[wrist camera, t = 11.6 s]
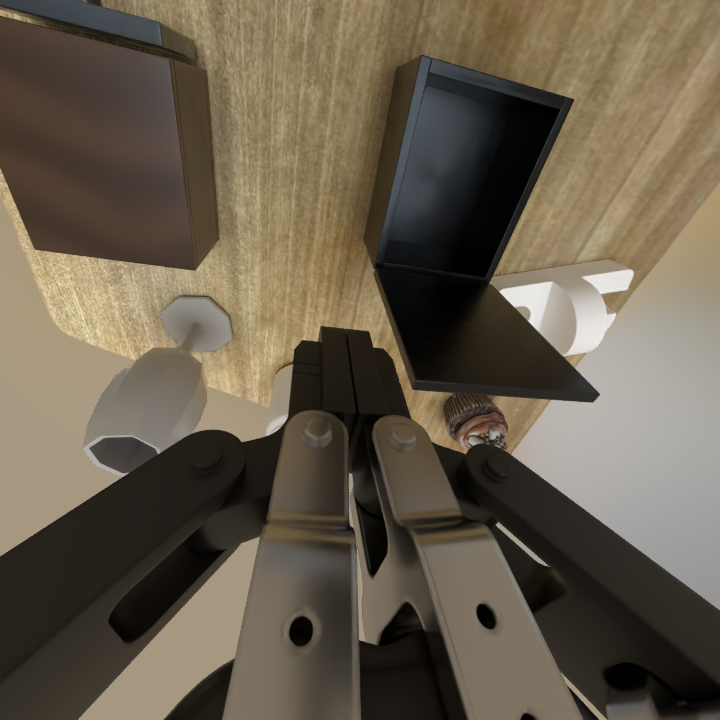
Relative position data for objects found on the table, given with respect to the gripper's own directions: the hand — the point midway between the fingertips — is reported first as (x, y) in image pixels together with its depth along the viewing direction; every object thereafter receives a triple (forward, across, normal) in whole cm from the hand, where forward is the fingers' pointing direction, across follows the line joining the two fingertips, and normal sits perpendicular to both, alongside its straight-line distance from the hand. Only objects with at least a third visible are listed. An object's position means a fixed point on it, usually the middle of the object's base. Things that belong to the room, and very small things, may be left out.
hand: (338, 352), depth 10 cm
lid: (+13, -12, +5) cm, 18 cm away
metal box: (+30, -12, -3) cm, 33 cm away
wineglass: (+31, +14, +19) cm, 39 cm away
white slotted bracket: (+31, -33, +9) cm, 46 cm away
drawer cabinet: (+30, +17, 0) cm, 35 cm away
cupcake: (+31, -30, +31) cm, 53 cm away
